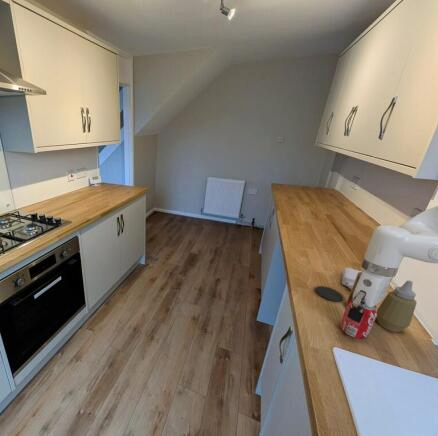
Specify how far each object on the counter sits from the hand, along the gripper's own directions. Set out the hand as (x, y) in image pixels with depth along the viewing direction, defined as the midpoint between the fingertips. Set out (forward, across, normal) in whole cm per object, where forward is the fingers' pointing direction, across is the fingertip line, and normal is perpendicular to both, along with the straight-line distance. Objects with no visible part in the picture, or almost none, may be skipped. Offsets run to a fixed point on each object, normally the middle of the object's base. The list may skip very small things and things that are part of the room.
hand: (359, 315), depth 75 cm
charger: (+7, +30, +11) cm, 33 cm away
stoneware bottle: (+7, +15, +5) cm, 17 cm away
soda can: (+7, 0, 0) cm, 7 cm away
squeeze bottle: (+7, +15, -5) cm, 17 cm away
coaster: (+7, +15, +14) cm, 22 cm away
